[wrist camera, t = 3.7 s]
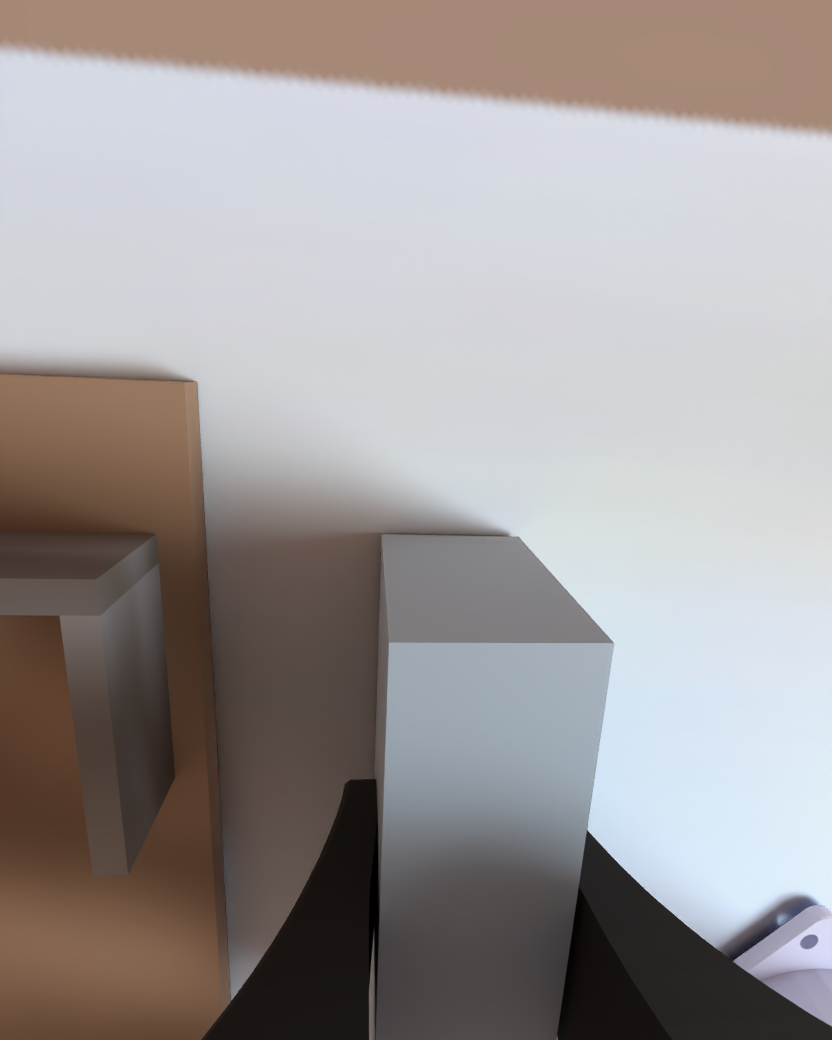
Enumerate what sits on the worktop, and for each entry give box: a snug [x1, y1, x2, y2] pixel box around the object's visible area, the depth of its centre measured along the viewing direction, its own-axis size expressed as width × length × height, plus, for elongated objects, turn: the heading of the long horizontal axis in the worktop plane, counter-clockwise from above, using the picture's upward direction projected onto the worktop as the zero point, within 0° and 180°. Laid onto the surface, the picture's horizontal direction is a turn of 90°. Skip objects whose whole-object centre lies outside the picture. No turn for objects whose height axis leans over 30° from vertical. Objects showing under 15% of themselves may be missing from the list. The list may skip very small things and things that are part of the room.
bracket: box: [0, 374, 231, 1040], centre depth 12 cm, size 21×8×3 cm, turn 177°
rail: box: [369, 534, 614, 1040], centre depth 11 cm, size 12×3×5 cm, turn 177°
